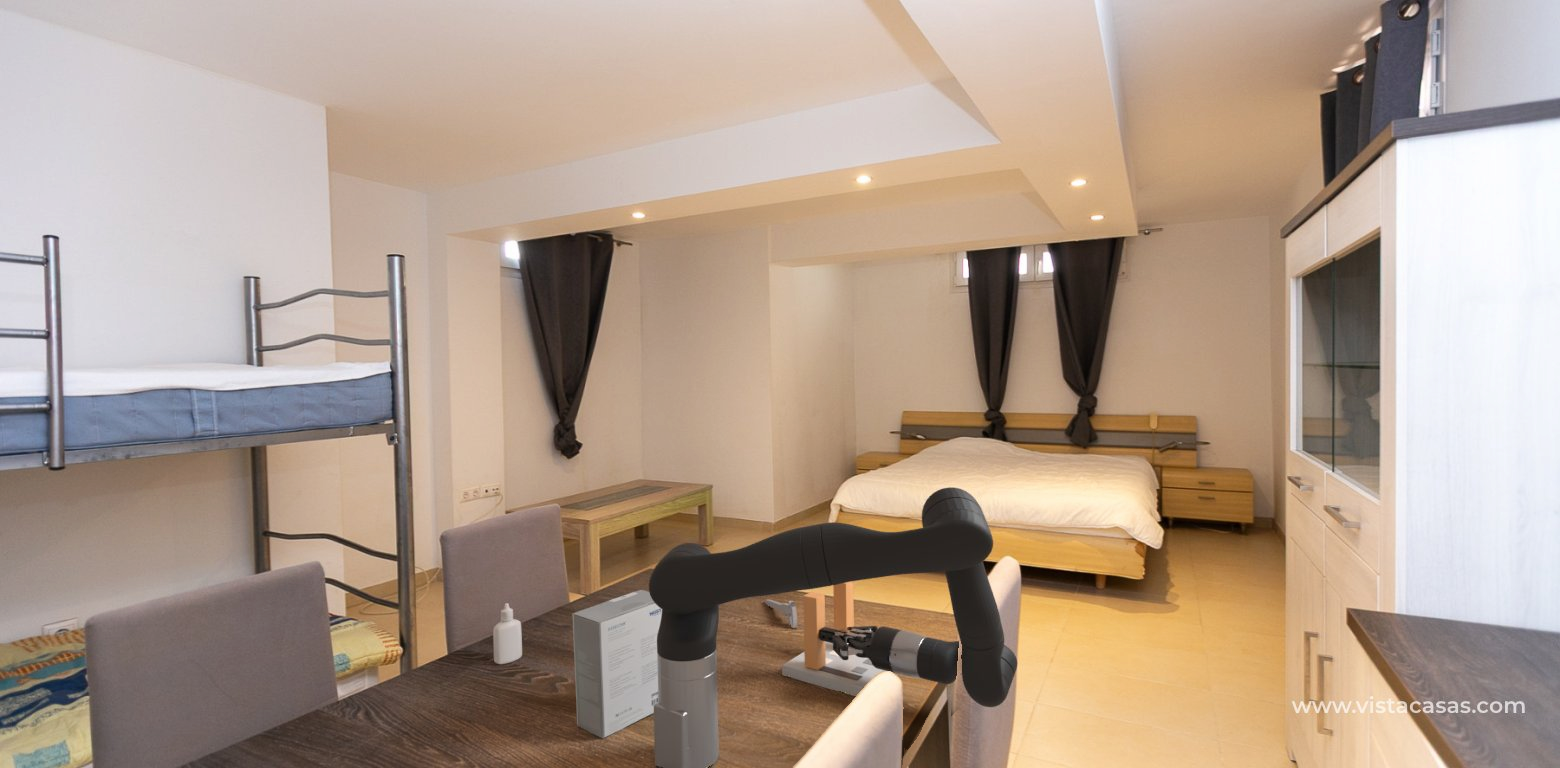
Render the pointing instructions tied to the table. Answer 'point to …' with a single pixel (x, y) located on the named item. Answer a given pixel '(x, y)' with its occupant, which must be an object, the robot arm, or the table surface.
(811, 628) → the switch tab
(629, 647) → the hard drive box
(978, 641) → the robot arm
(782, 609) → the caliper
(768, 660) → the table surface
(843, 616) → the switch tab
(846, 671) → the switch panel
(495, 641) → the eye dropper bottle
